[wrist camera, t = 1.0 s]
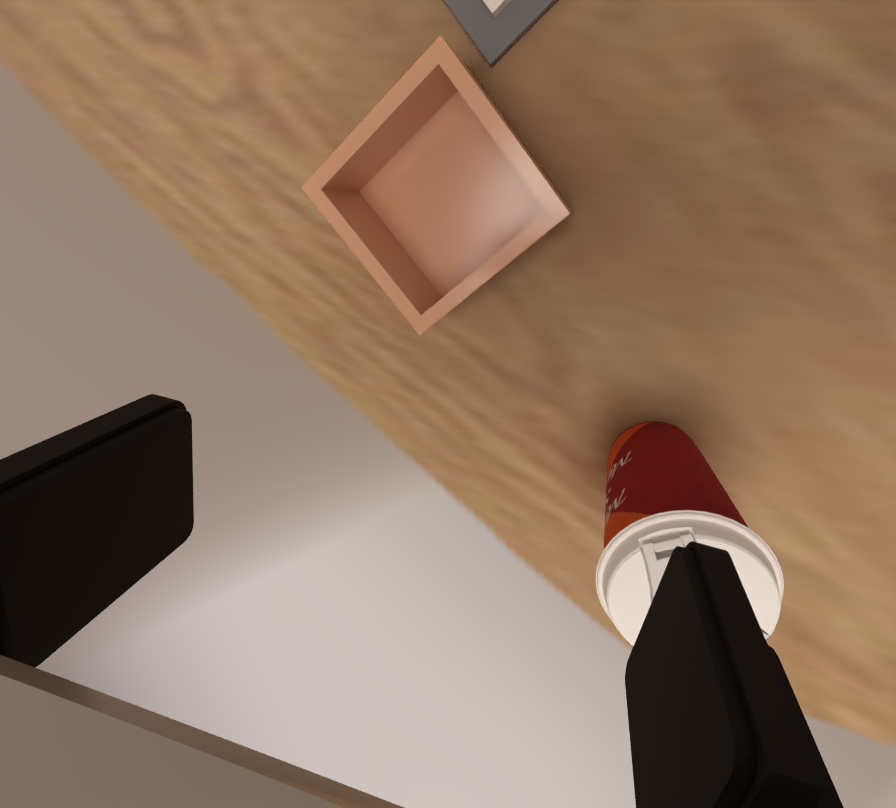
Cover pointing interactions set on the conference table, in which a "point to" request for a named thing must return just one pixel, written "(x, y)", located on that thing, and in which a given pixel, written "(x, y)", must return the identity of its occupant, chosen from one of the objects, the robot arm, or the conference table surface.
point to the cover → (496, 6)
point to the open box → (435, 189)
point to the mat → (498, 23)
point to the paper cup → (672, 526)
